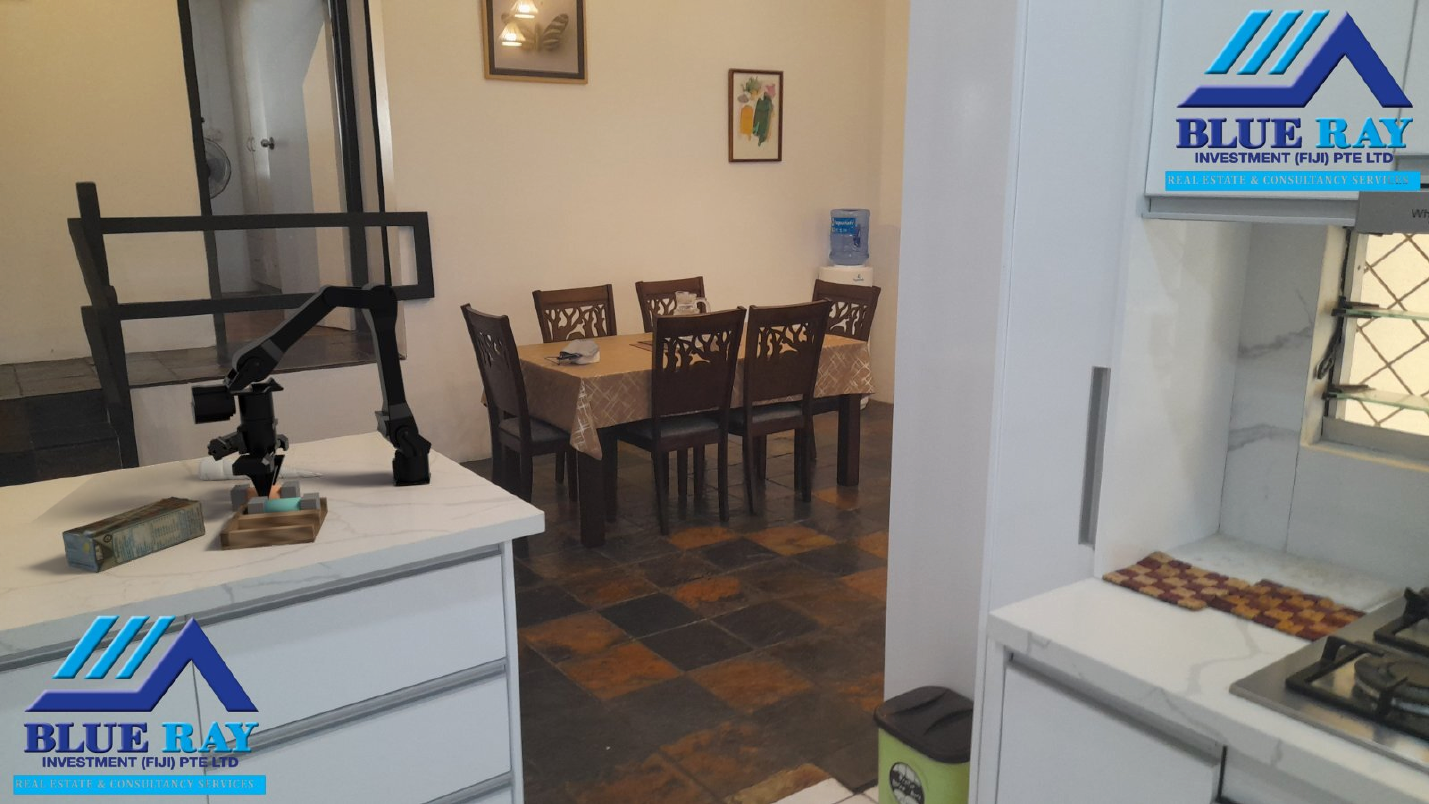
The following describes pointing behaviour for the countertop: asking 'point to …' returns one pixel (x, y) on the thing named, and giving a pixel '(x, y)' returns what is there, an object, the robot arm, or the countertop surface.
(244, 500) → the orange capped cylinder
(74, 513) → the countertop surface
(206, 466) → the unicorn horn
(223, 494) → the countertop surface
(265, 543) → the wooden tray
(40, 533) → the countertop surface
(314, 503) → the teal capped cylinder
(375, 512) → the countertop surface
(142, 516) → the beverage carton
